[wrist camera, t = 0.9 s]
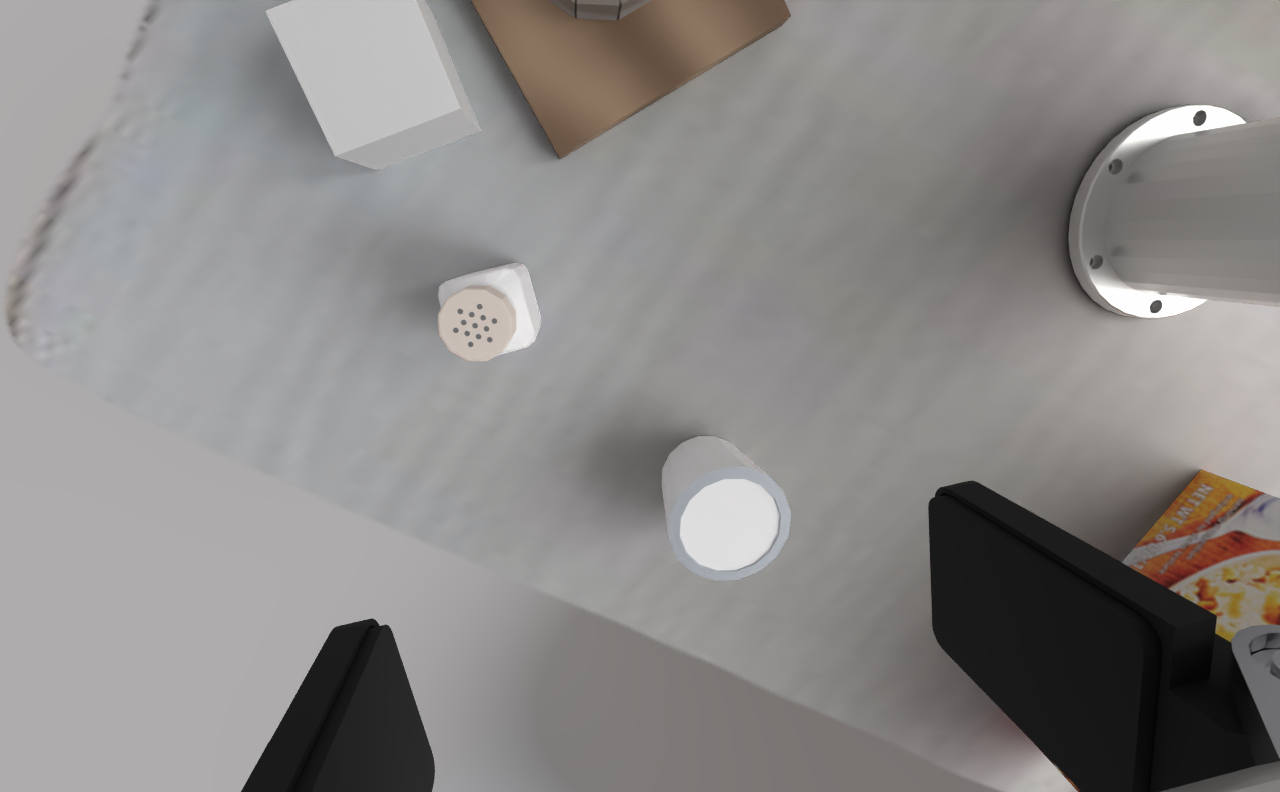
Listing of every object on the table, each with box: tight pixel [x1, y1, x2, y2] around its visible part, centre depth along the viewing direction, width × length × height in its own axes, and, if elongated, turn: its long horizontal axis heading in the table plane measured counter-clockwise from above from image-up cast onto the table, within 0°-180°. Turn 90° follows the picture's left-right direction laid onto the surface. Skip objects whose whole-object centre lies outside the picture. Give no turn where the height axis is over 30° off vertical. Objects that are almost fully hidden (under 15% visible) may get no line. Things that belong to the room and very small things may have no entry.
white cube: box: [265, 0, 481, 171], centre depth 28 cm, size 6×6×6 cm
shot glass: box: [661, 436, 791, 581], centre depth 35 cm, size 7×7×7 cm
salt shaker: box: [438, 263, 541, 361], centre depth 30 cm, size 4×4×10 cm
